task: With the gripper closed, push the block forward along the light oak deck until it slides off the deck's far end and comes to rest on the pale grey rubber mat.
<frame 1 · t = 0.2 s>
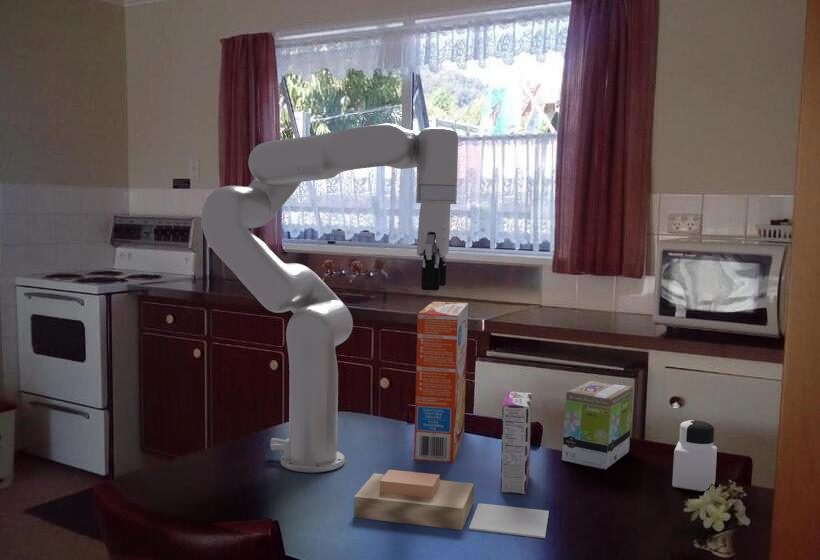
hand: (433, 287, 146), 36 cm above the table, tool pointing down, fingers open, 9 cm apart
tea box: (596, 457, 164), on the table
deck: (415, 510, 131), on the table
candy bar box: (514, 485, 146), on the table
block: (410, 489, 131), point 3 cm above the table, touching deck
pasta box: (440, 445, 169), on the table
medicine bottle: (693, 485, 148), on the table
mat: (510, 520, 128), on the table
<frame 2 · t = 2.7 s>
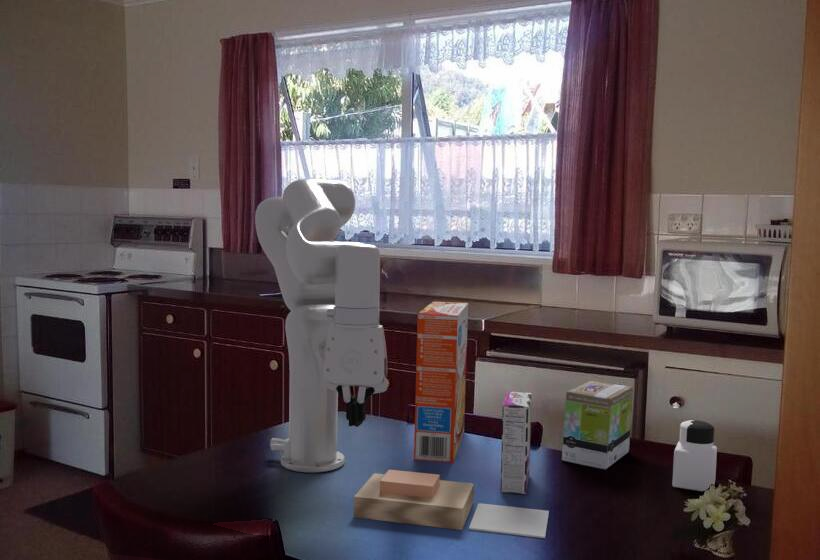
hand: (355, 424, 132), 14 cm above the table, tool pointing down, fingers closed
nothing on the table moved.
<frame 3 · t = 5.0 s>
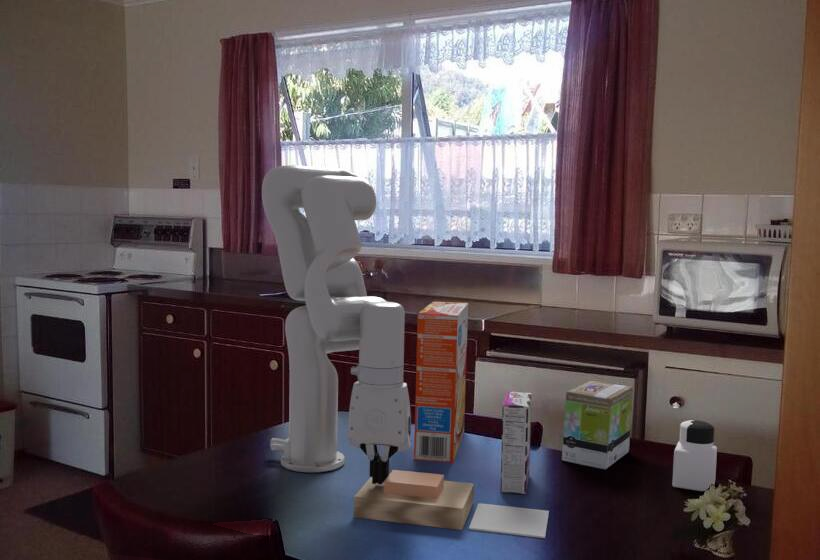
hand: (379, 481, 132), 4 cm above the table, tool pointing down, fingers closed
nothing on the table moved.
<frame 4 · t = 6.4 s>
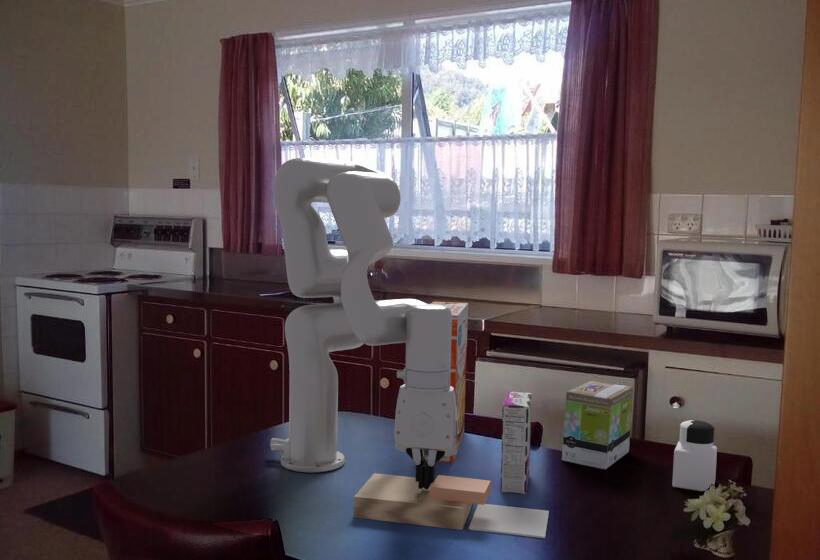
hand: (425, 486, 131), 4 cm above the table, tool pointing down, fingers closed
block: (460, 495, 129), point 4 cm above the table, touching deck
everything else where it was.
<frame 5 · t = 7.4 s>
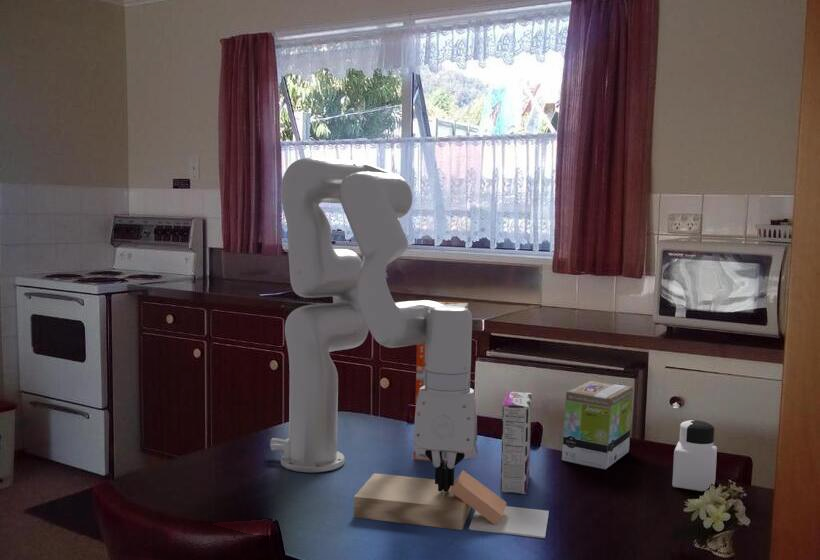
hand: (444, 488, 130), 4 cm above the table, tool pointing down, fingers closed
block: (475, 501, 129), point 3 cm above the table, tilted 33°, touching deck, gripper
everything else where it was.
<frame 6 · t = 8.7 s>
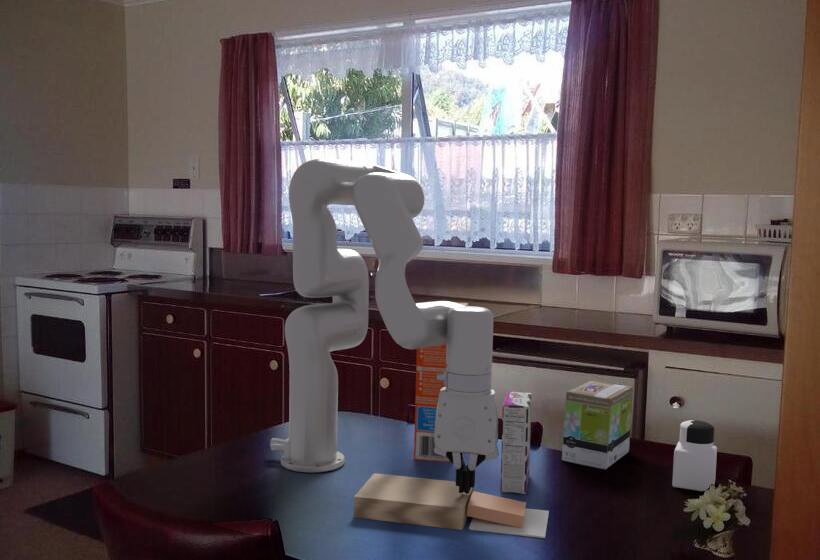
hand: (465, 490, 129), 4 cm above the table, tool pointing down, fingers closed
block: (495, 514, 128), point 1 cm above the table, tilted 7°, touching mat
everything else where it was.
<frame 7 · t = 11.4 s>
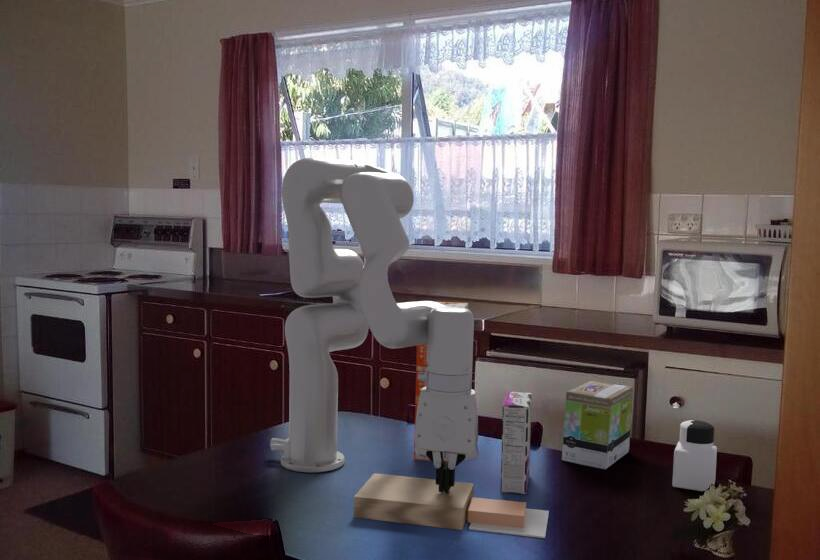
hand: (444, 489, 130), 4 cm above the table, tool pointing down, fingers closed
block: (497, 518, 128), resting on mat
everything else where it was.
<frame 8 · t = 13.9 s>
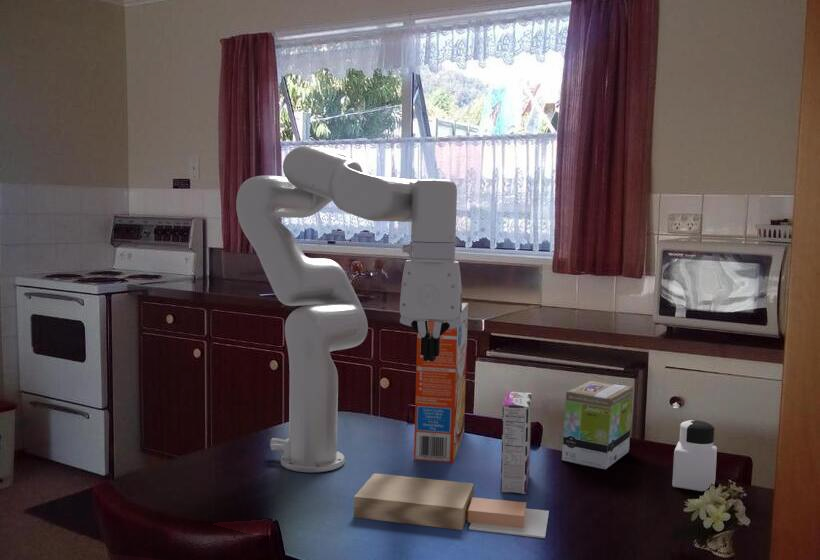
hand: (429, 359, 133), 25 cm above the table, tool pointing down, fingers closed
nothing on the table moved.
at the end: block resting on mat; block inside the target area on the mat (2.1 cm from its centre), point 0.3 cm above the mat's base; block touching mat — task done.
